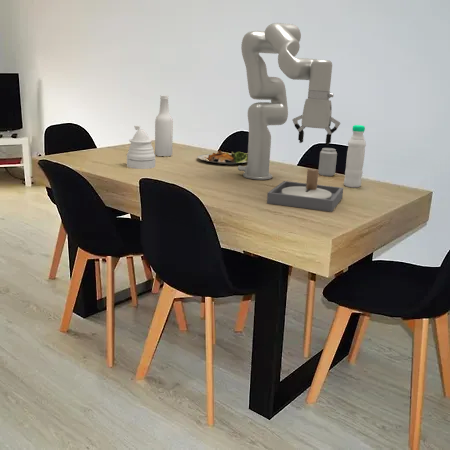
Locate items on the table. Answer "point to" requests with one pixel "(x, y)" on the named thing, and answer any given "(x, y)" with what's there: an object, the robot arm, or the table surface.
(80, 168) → the table surface
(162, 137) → the alcohol
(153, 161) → the honey pot
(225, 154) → the plate of food
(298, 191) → the dial
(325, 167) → the can
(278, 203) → the dial frame
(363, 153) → the water bottle
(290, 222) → the table surface
